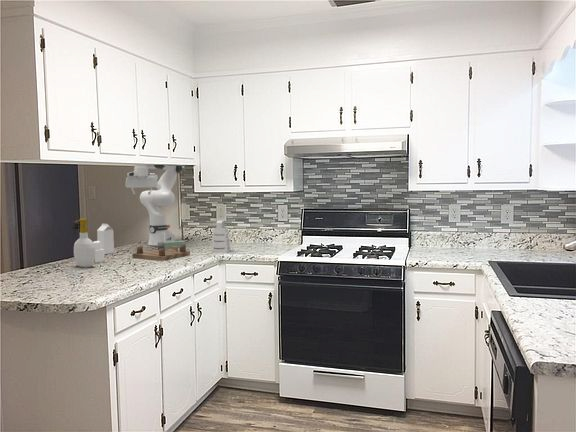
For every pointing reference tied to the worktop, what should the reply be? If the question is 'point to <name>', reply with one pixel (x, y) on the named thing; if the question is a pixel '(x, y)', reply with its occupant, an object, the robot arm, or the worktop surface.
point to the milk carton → (106, 238)
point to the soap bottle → (84, 247)
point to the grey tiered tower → (220, 238)
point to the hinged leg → (170, 244)
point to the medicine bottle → (98, 252)
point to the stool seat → (161, 253)
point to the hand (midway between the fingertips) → (142, 194)
